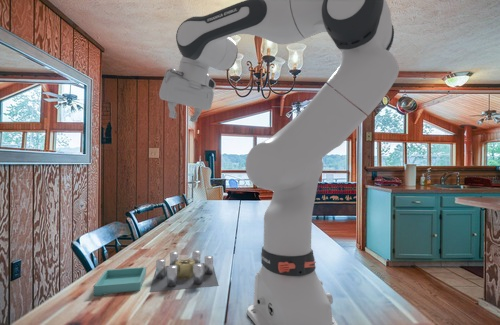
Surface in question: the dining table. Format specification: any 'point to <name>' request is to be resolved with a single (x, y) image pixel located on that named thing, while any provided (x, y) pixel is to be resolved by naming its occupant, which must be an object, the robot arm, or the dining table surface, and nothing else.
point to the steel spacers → (173, 268)
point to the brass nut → (185, 268)
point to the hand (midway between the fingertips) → (183, 119)
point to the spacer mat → (183, 282)
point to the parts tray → (120, 281)
